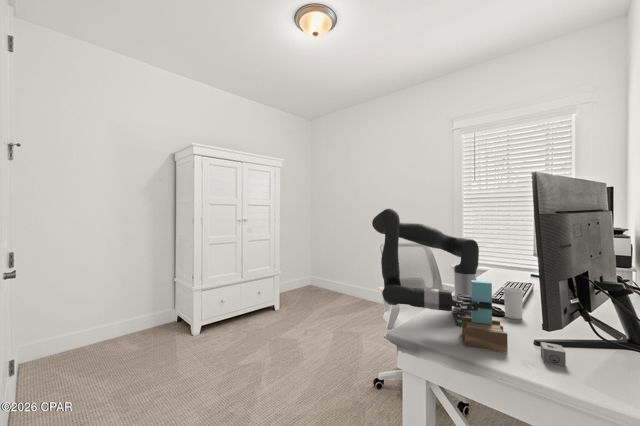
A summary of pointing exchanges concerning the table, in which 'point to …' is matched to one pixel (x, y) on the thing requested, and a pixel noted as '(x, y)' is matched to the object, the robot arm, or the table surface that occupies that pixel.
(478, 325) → the oak offcut middle
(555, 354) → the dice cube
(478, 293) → the teal board
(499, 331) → the oak offcut front
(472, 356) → the table surface
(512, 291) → the mug
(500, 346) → the walnut rack
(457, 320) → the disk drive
